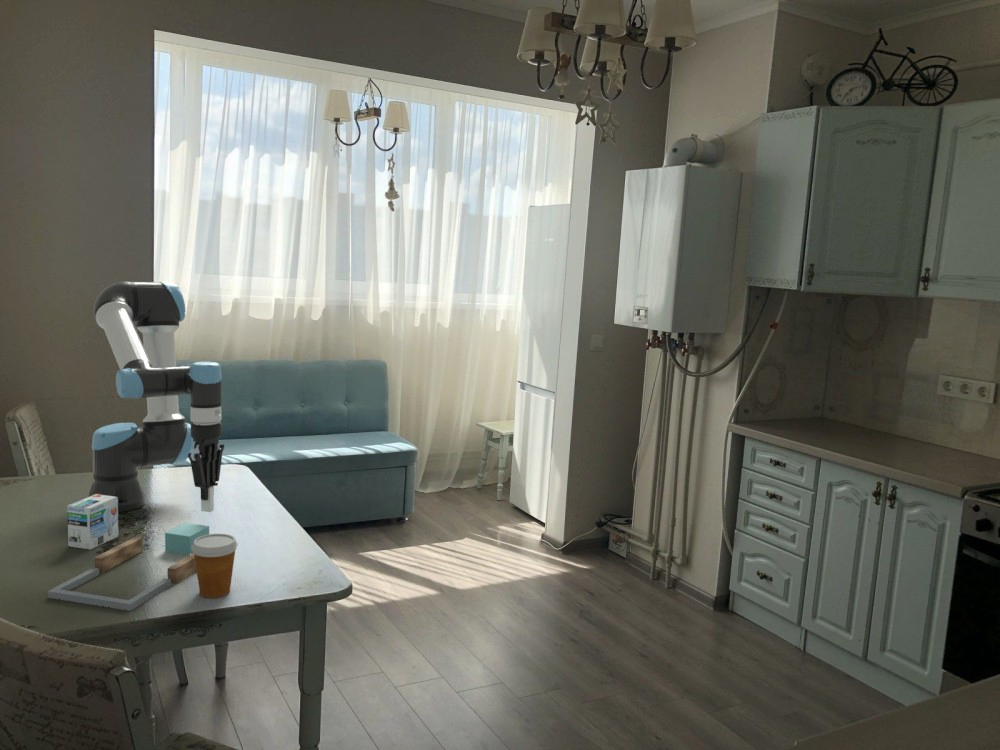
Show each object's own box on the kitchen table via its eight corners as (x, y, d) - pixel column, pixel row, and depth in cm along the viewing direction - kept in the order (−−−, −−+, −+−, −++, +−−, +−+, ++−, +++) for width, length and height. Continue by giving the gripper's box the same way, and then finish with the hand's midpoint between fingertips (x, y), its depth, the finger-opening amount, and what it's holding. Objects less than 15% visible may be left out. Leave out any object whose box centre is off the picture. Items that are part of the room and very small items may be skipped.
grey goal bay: (93, 573, 180) (93, 567, 179) (171, 585, 176) (170, 579, 175) (48, 597, 167) (47, 591, 166) (130, 611, 162) (130, 604, 162)
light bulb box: (90, 550, 193) (89, 508, 192) (67, 547, 195) (65, 505, 193) (119, 536, 204) (118, 496, 202) (97, 533, 205) (96, 493, 203)
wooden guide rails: (135, 550, 194) (135, 537, 194) (211, 561, 190) (211, 547, 189) (94, 571, 181) (94, 557, 180) (175, 584, 176) (175, 569, 176)
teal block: (185, 541, 203) (185, 522, 202) (209, 544, 201) (209, 526, 200) (165, 552, 195) (165, 532, 194) (189, 555, 193) (189, 536, 193)
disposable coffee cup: (192, 604, 167) (192, 550, 165) (191, 586, 176) (190, 535, 174) (239, 598, 171) (239, 545, 169) (235, 581, 179) (235, 531, 178)
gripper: (204, 428, 194) (205, 519, 198) (233, 418, 207) (234, 505, 210) (177, 425, 196) (179, 516, 199) (207, 416, 209) (209, 502, 212)
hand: (207, 510), depth 205 cm, fingers closed
